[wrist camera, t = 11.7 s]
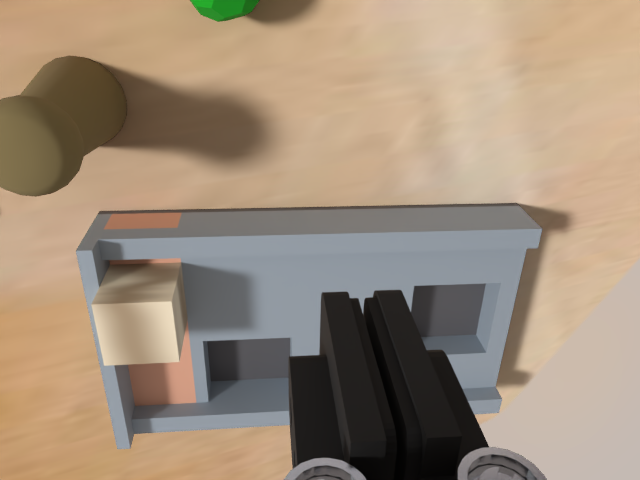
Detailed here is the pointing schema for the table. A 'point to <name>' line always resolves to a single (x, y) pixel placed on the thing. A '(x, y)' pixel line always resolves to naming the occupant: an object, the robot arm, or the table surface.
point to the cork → (57, 124)
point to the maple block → (141, 313)
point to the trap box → (303, 298)
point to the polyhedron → (224, 8)
